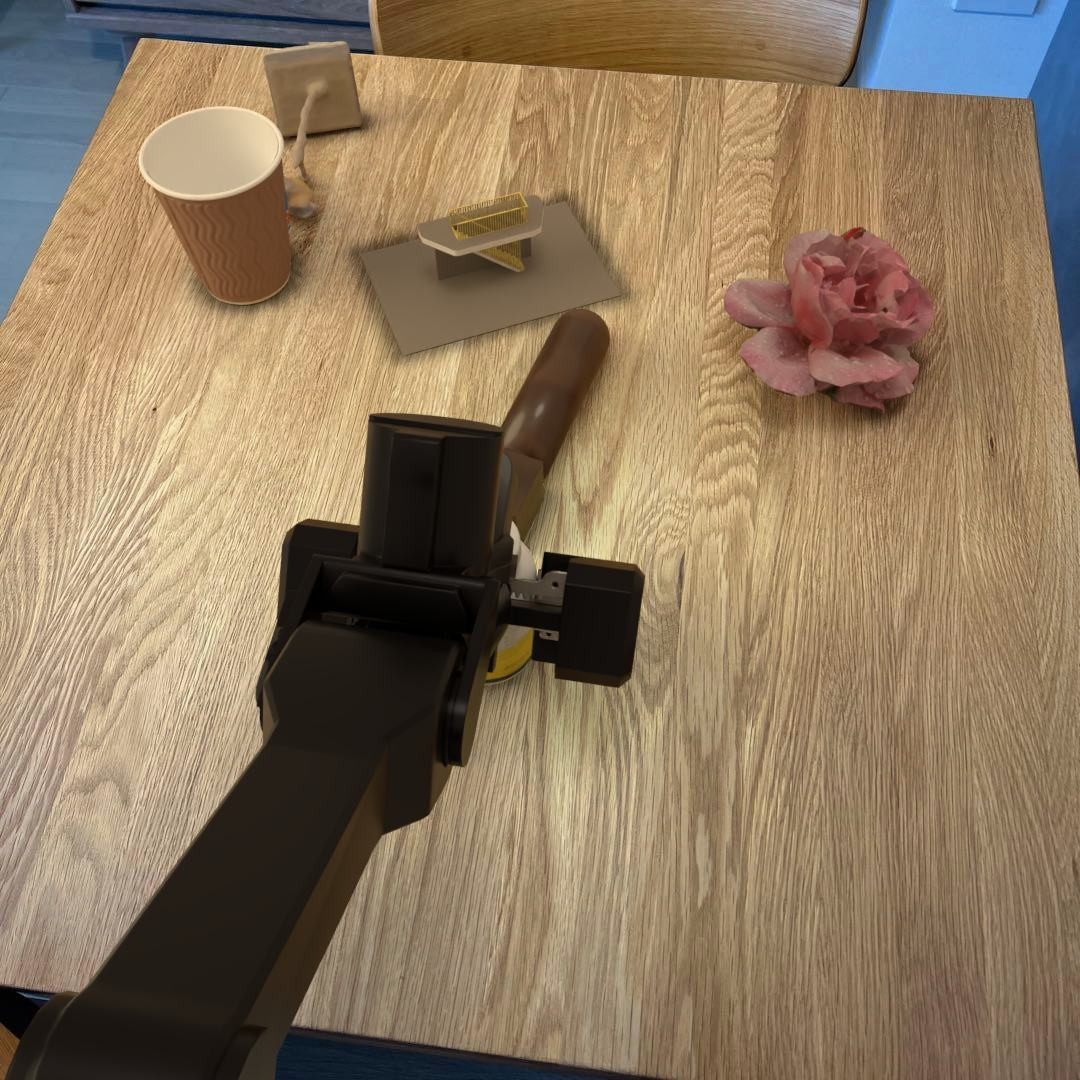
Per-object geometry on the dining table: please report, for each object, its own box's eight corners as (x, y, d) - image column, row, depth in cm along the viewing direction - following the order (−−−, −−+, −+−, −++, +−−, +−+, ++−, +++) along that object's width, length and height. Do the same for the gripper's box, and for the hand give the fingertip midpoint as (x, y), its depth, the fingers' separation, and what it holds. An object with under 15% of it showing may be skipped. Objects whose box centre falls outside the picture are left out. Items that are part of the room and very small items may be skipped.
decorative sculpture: (318, 234, 94) (302, 160, 88) (206, 220, 95) (183, 146, 89) (369, 114, 103) (358, 39, 97) (266, 102, 104) (248, 28, 98)
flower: (753, 434, 78) (813, 316, 71) (693, 306, 88) (741, 191, 81) (935, 447, 83) (1008, 337, 76) (859, 324, 92) (918, 217, 86)
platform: (621, 295, 90) (625, 230, 84) (402, 355, 86) (392, 292, 81) (565, 201, 96) (566, 134, 91) (359, 254, 93) (348, 188, 87)
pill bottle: (424, 614, 73) (406, 508, 64) (521, 589, 74) (517, 480, 65) (450, 702, 70) (434, 603, 60) (551, 673, 71) (551, 572, 61)
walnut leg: (517, 554, 76) (516, 516, 73) (457, 534, 77) (453, 496, 74) (616, 347, 87) (619, 305, 83) (562, 332, 88) (563, 289, 84)
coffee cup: (338, 263, 92) (313, 137, 82) (252, 340, 87) (214, 216, 77) (243, 215, 95) (208, 88, 85) (155, 287, 91) (107, 162, 81)
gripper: (655, 492, 50) (662, 455, 65) (245, 437, 52) (345, 414, 67) (622, 732, 52) (636, 642, 67) (229, 672, 54) (330, 597, 69)
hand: (487, 569), depth 67 cm, fingers closed on pill bottle, 6 cm apart
